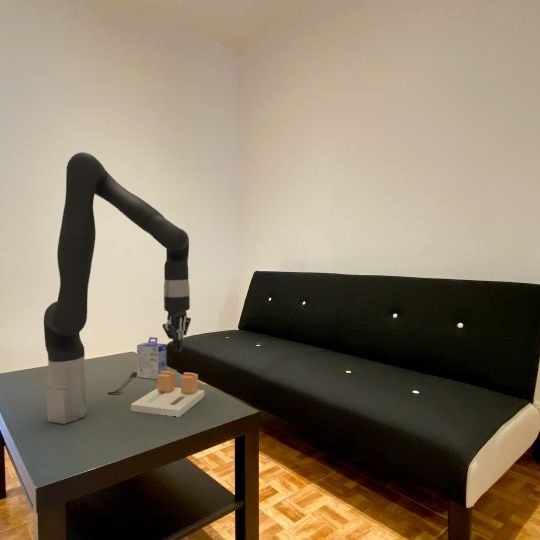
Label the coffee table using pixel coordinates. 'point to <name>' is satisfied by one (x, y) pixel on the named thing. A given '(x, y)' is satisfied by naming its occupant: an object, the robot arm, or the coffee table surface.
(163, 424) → the coffee table surface
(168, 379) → the tab
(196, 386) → the tab
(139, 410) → the switch bank
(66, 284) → the robot arm
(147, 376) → the ink cartridge box
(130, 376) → the tactical tomahawk
